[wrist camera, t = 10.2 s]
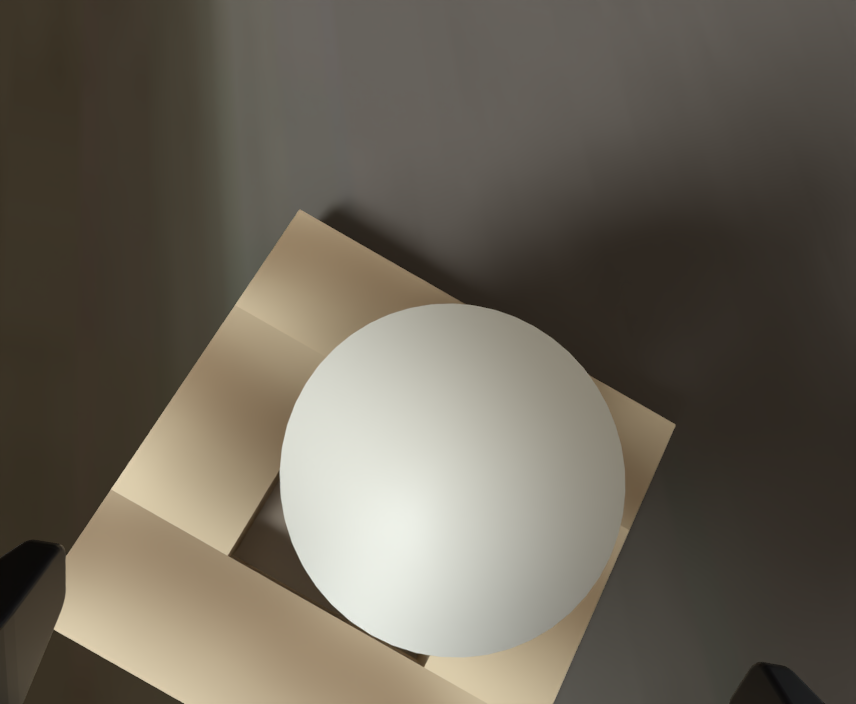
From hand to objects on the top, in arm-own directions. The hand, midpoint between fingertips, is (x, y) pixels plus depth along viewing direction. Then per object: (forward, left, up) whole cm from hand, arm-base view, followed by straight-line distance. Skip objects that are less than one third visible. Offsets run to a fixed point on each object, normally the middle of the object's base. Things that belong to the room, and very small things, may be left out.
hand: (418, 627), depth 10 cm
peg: (+2, +1, -11) cm, 11 cm away
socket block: (+2, +1, -11) cm, 12 cm away
